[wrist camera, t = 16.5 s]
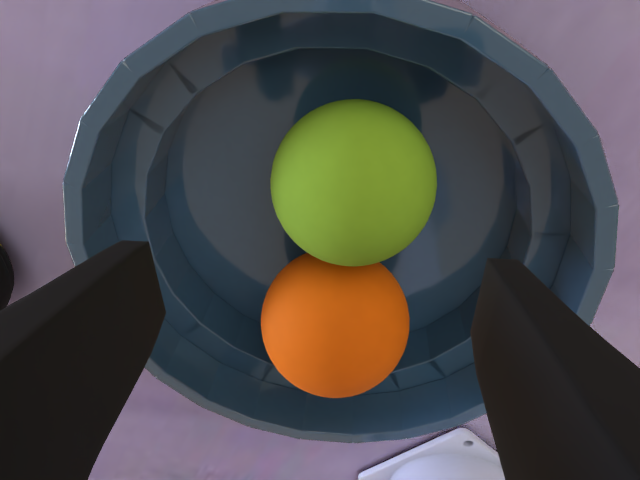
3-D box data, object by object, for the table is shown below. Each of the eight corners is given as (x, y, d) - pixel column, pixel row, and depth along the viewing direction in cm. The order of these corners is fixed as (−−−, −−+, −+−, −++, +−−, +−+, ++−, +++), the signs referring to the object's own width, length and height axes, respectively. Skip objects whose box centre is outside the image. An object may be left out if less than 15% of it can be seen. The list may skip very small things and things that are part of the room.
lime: (432, 132, 17) (498, 222, 14) (333, 221, 19) (366, 321, 16) (338, 36, 14) (387, 116, 11) (231, 153, 16) (241, 255, 13)
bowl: (651, 225, 18) (724, 304, 14) (333, 405, 26) (326, 487, 22) (342, -186, 13) (329, -236, 9) (51, 200, 20) (-24, 264, 16)
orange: (424, 280, 20) (458, 371, 16) (332, 352, 22) (336, 454, 17) (333, 195, 19) (337, 268, 14) (241, 281, 21) (216, 373, 16)
